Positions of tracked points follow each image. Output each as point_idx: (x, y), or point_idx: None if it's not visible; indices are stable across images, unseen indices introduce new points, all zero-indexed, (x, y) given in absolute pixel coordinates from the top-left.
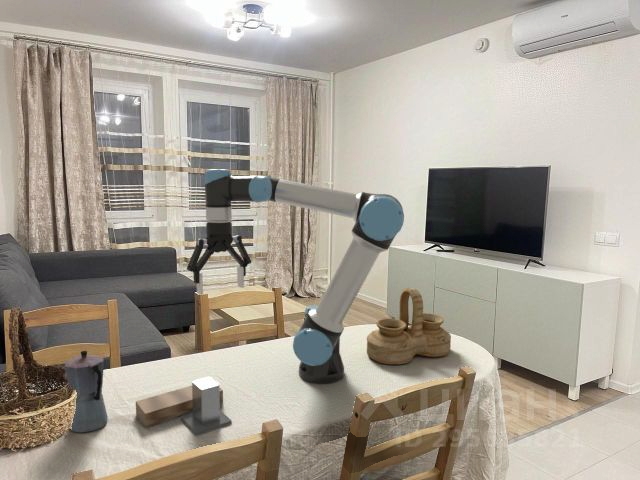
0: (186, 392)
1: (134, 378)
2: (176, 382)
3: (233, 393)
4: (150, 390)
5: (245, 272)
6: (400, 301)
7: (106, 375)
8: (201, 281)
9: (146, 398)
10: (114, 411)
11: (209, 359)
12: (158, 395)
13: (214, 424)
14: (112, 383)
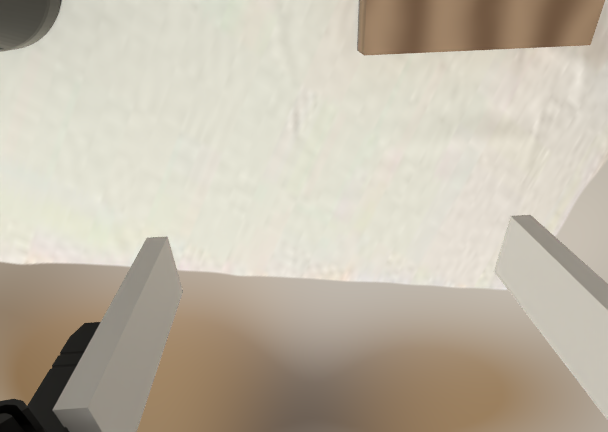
0: (462, 13)
1: (462, 227)
2: (400, 159)
3: (305, 5)
4: (467, 151)
5: (62, 355)
6: None
7: None
8: (597, 287)
9: (561, 45)
10: (583, 92)
11: (276, 237)
12: (528, 43)
13: None
14: None
